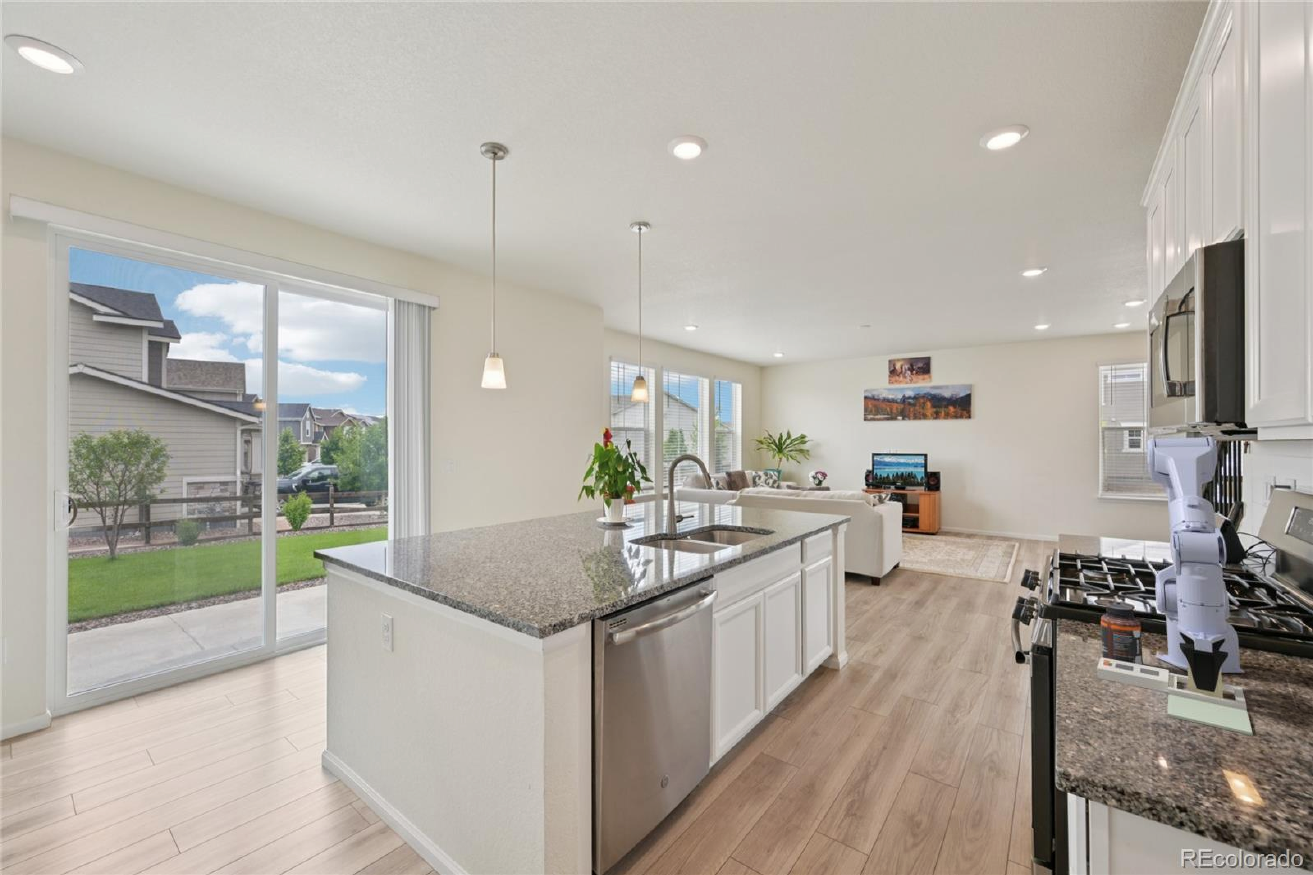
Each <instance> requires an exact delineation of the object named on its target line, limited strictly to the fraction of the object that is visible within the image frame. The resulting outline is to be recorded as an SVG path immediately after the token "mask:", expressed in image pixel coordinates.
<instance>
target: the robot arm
mask: <svg viewBox="0 0 1313 875" xmlns="http://www.w3.org/2000/svg"><path fill="white" fill-rule="evenodd" d="M1146 456H1147V457H1146V459H1147V465H1148V472H1149V473H1148V475H1149V476H1150V479H1151V481H1152V482H1155V483H1158V484H1160V485H1162V487H1163V489H1164V491H1165V493H1166V496H1167V506H1168V509H1167V510H1168V519H1169V532H1170V537H1169V539H1170V540H1169V542H1170V543H1169V546H1170V555H1171V560H1172V564H1171V565H1169V566H1167V567H1166V568H1163V569H1161V570H1159V571H1158V572H1157V574H1156V575H1155V585H1154V586H1155V601H1156V602H1155V603H1156V609H1157V610H1158V611H1159V613H1160V614H1165V618H1166V634H1167V635H1166V638H1167V654H1155V657H1156V658H1157V659H1159V660H1162V661H1164V662H1166V663H1168V664H1171V665H1173V666H1175V667H1177V668H1179V669H1182V670H1183V671H1187V672H1188V667H1187V661H1188V663H1189V665H1190V668H1191V672H1192V676H1193V680H1194V683H1195V686H1196V688H1197V689H1200V690H1205V691H1210V692H1215V689H1216V686H1217V680H1218V675H1219V671H1220V668H1221V674H1226V673H1227V674H1229V673H1230V674H1231V673H1232V674H1236V673H1237V674H1244V673H1245V670H1244V669H1242V668H1241V666H1240V663H1241V662H1240V648H1239V647H1240V646H1239V637H1238V634H1237V632H1236V630H1235V628H1234V627H1233V626H1232V624H1231V623H1229V622H1228V621H1226V620H1227V619H1229V618H1230V601H1229V595H1228V591H1227V587H1226V582H1225V581H1224V577H1223V575H1224V574H1223V568H1224V567H1225V566H1226V562H1227V547H1226V541H1225V538H1224V536H1223V533H1222V531H1221V528H1220V527H1218V526H1217V521H1216V515H1215V510H1214V506H1213V504H1212V503H1211V502H1210V501H1209V500H1207V499H1206V498H1204V497H1203V484H1207V483H1209V482H1212V481H1213V480H1214V479H1213V477H1214V476H1215V474H1216V467H1217V466H1218V465H1217V464H1218V447H1217V442H1216V439H1214V438H1213V437H1212V436H1206V437H1205V436H1203V437H1176V438H1175V437H1173V438H1172V437H1171V438H1170V437H1169V438H1166V437H1165V438H1153V437H1150V438H1149V439H1148V440H1147V441H1146ZM1220 563H1221V566H1222V567H1221V566H1220Z"/></svg>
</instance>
